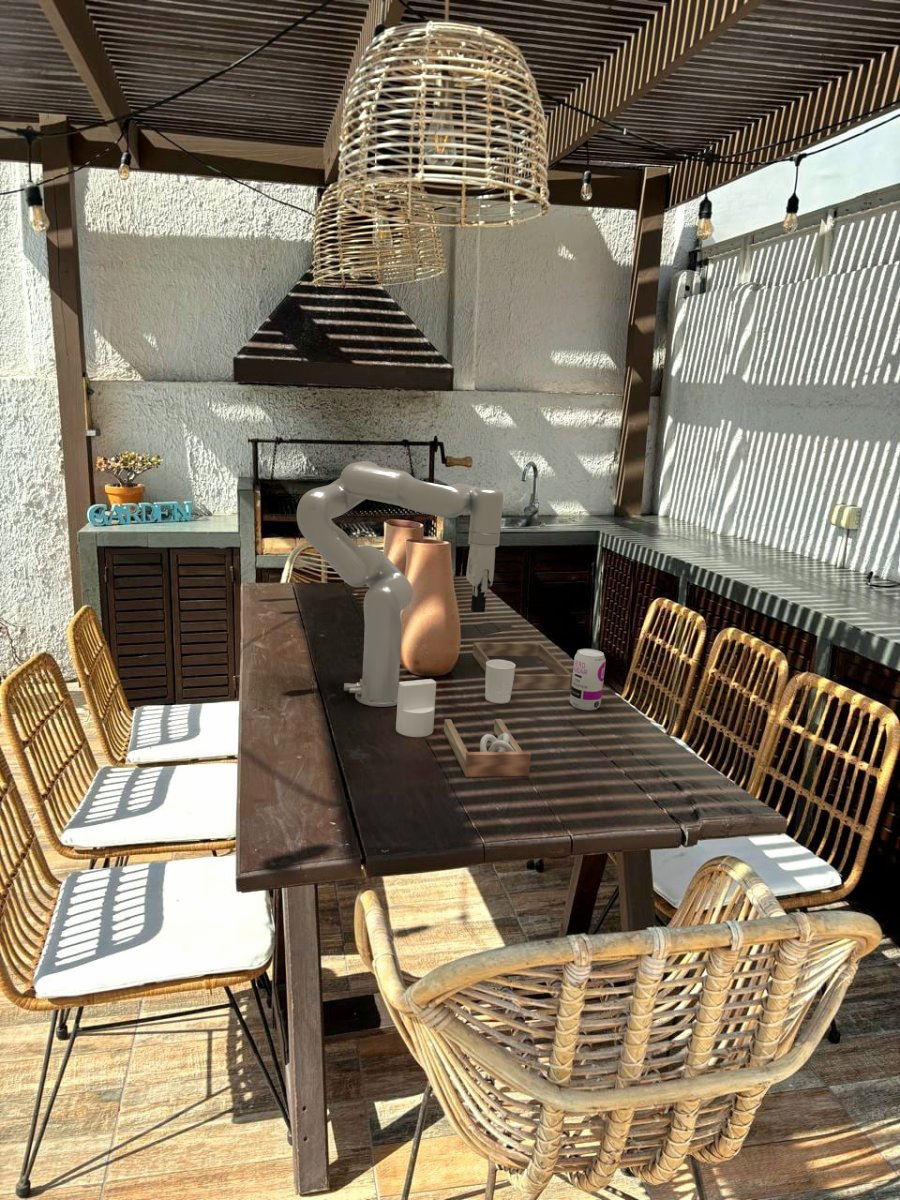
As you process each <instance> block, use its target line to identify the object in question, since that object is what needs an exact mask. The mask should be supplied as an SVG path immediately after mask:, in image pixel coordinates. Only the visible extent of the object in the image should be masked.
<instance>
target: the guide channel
mask: <svg viewBox="0 0 900 1200" xmlns="http://www.w3.org/2000/svg"><path fill="white" fill-rule="evenodd" d="M493 724H494V727H493V731H494V734H496V736H497V738H498V737H499V736H500V735H501V734H503V733H507V734H508V735H509V743H508V744H510V745H511V747H512V748H513V749H514V752H507V751H506V752H497V751H495V752H480V751H468V750H467V747H466V745H465V744H464V741H463V740H462V738H461V736H460V734H459V732H458V730H457V728H456V727H455V725H454V723H453V721H452V719H449V718H448V719H447V718H446V719H445V718H444V723H443V733H444V734H445V737H446V739H447V740H448V743H449V745H450V747H451V749H452V750H453V753H454V755H455V757H456V759H457V762H458V764H459V765H460V767H461V770H462V771H463V774H464V776H465V777H466V778H467V777H470V778H473V777H475V778H477V777H523V776H524V777H525V776H530V771H531V770H530V769H531V757H532V753H531V752H530V751H523V750H522V748H521V747H520V746H519V744H518V742H517V741H516V740H515V738H514V737H513V735H512V734H511V732H510V731H509V729H508V728H507V725H505V723H504V721H503V720H502V719H501V718H495V719H494V723H493Z"/></svg>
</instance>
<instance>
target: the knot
mask: <svg viewBox="0 0 900 1200" xmlns="http://www.w3.org/2000/svg"><path fill="white" fill-rule="evenodd" d="M488 741H489V742H491V744H490V747H489V748H488V749H487V743H488ZM508 743H509V735H508V734H507V733H503V734H501V735H500V736H499V737H498V736H497V737H495V735H493V734H490V733H486V734H484V735H483V736H482V737H481V739H480V742H479V752H514V749H513V748H512V747H511V745H510V744H508Z"/></svg>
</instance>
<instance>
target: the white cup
mask: <svg viewBox="0 0 900 1200" xmlns="http://www.w3.org/2000/svg"><path fill="white" fill-rule="evenodd" d="M515 674H516V664H515V663H514V662H513V661H509V660H506V659H490V660H489V661H487V662H486V673H485V681H484V682H485V683H484V685H485V686H484V687H485V693H484V694H485V695H484V698H485V700H486V701H488V702H490V703H492V704H493V703H494V704H506V703H509V702H510V701H511V696H512V692H513V689H512V687H513V681H514V675H515Z"/></svg>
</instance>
